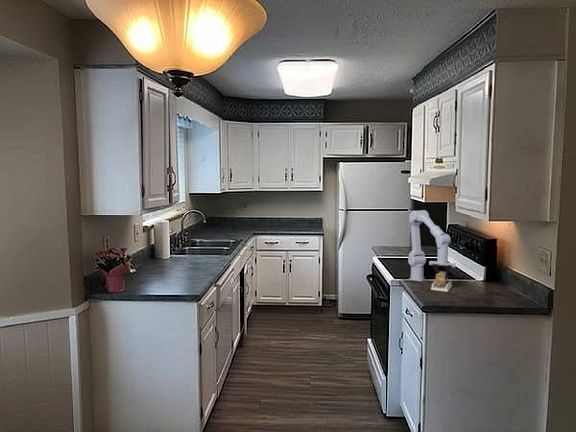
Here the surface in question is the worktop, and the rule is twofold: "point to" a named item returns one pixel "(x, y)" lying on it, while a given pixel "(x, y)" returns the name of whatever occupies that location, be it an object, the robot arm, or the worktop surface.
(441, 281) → the golden brown block
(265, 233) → the worktop surface
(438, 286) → the peg base
